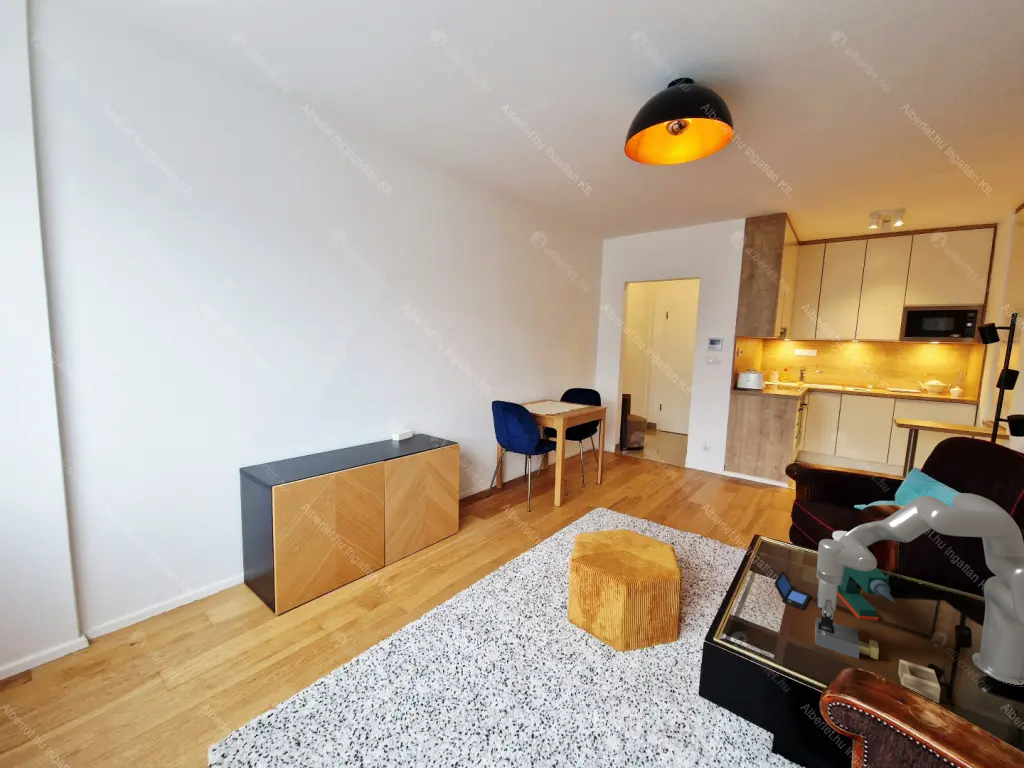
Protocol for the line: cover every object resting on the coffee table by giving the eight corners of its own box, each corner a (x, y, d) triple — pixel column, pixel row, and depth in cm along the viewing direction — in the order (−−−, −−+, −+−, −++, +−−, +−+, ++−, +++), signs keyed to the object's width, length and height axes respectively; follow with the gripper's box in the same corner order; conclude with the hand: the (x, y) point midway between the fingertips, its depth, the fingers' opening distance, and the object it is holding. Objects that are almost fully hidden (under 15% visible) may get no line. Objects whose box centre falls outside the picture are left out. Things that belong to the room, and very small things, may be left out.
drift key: (876, 651, 145) (877, 641, 145) (877, 659, 142) (878, 649, 142) (832, 638, 152) (833, 628, 152) (833, 645, 149) (834, 635, 148)
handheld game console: (803, 611, 167) (804, 594, 166) (772, 599, 175) (773, 582, 174) (811, 596, 176) (812, 580, 175) (781, 585, 184) (782, 570, 182)
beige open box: (932, 683, 132) (933, 669, 132) (938, 703, 126) (940, 688, 125) (898, 672, 137) (899, 659, 136) (902, 690, 131) (904, 676, 130)
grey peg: (830, 638, 152) (833, 606, 150) (831, 644, 150) (833, 612, 148) (819, 635, 154) (822, 603, 152) (820, 641, 152) (822, 609, 149)
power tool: (904, 647, 147) (909, 595, 144) (881, 645, 148) (886, 594, 145) (851, 590, 178) (854, 546, 175) (832, 589, 179) (835, 545, 176)
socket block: (856, 642, 150) (857, 629, 150) (858, 658, 143) (859, 645, 142) (815, 629, 157) (815, 617, 157) (815, 644, 150) (816, 632, 149)
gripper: (816, 560, 157) (813, 601, 160) (817, 584, 143) (813, 629, 146) (841, 566, 153) (837, 608, 156) (844, 591, 139) (840, 638, 142)
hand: (826, 618), depth 151 cm, fingers open, 9 cm apart
